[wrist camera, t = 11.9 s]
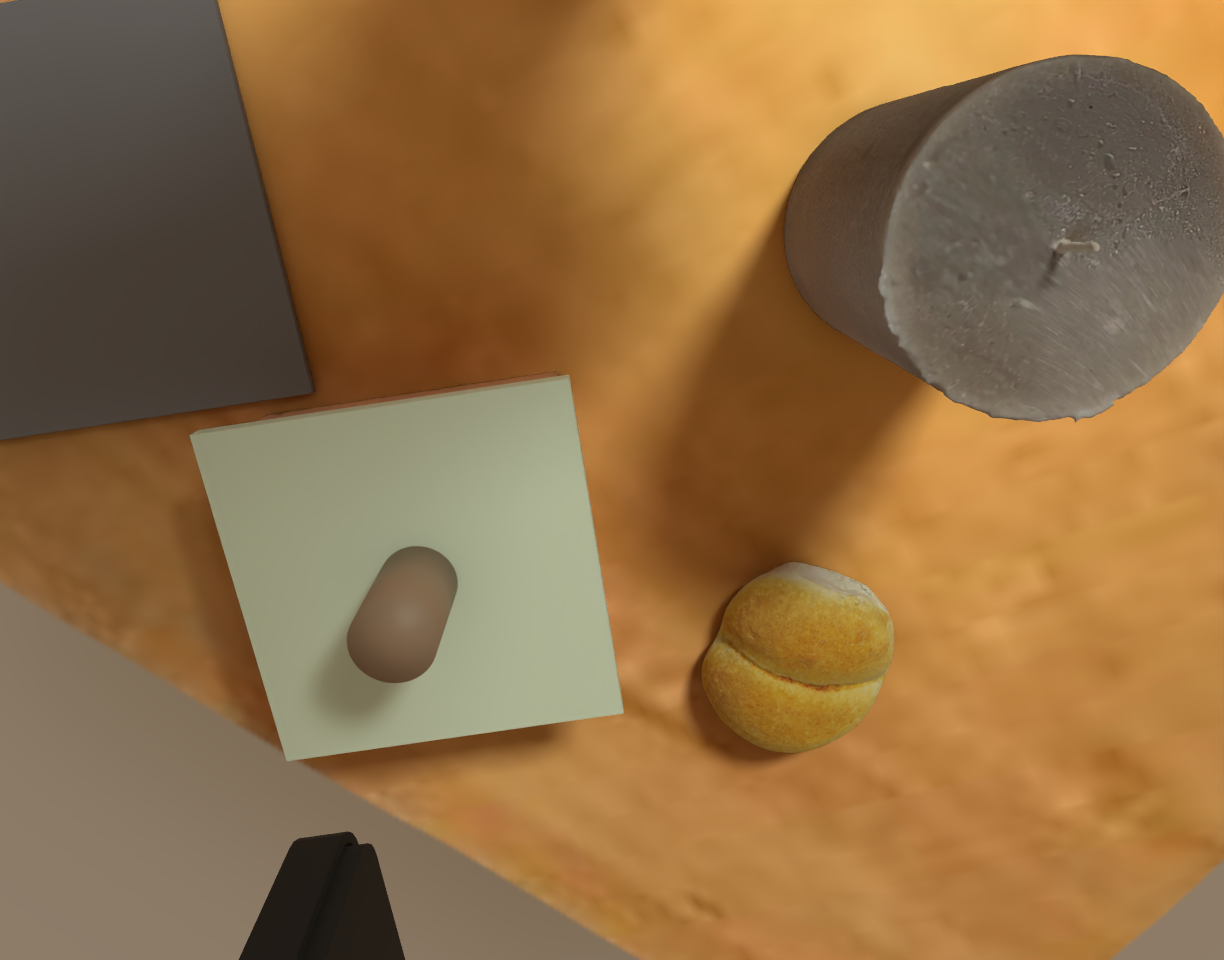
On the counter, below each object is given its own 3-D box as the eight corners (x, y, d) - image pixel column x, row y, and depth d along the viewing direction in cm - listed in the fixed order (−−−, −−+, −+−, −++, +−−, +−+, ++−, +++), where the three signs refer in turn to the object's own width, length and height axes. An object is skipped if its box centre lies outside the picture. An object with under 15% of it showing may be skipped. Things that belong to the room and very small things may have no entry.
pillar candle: (968, 54, 35) (1222, -42, 21) (1049, 282, 38) (1323, 335, 23) (741, 174, 36) (833, 162, 22) (835, 386, 39) (971, 497, 25)
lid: (198, 430, 34) (121, 475, 28) (569, 374, 33) (565, 409, 28) (292, 749, 38) (242, 844, 32) (622, 702, 38) (629, 790, 32)
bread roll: (679, 703, 44) (687, 752, 40) (747, 539, 41) (763, 574, 37) (836, 750, 45) (858, 801, 41) (911, 592, 42) (943, 632, 38)
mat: (-208, 39, 34) (-217, 37, 33) (210, -27, 34) (206, -30, 33) (-52, 446, 39) (-59, 448, 38) (315, 391, 38) (312, 393, 38)
